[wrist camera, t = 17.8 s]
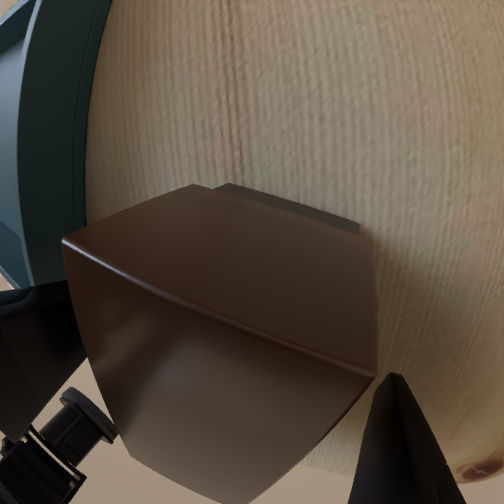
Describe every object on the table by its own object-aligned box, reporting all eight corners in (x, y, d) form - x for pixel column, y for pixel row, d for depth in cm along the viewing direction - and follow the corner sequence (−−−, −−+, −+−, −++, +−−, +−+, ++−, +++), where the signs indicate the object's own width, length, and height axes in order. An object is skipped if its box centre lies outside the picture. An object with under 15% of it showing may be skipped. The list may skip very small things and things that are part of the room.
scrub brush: (197, 367, 11) (129, 455, 7) (221, 173, 7) (57, 236, 3) (286, 404, 10) (240, 510, 6) (370, 218, 6) (380, 376, 2)
